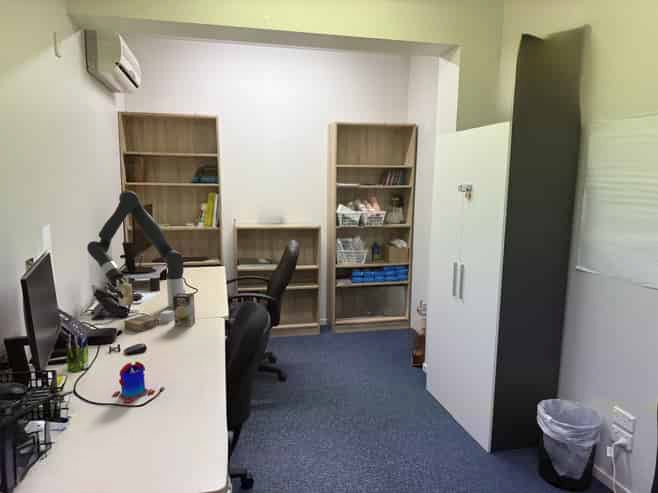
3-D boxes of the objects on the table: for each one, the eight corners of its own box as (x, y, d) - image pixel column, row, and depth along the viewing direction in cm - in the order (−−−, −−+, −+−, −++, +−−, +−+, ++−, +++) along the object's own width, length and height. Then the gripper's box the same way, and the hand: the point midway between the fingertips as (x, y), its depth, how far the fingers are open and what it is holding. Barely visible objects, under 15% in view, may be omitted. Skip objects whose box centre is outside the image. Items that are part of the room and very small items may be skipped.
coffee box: (174, 326, 230) (172, 296, 228) (179, 322, 237) (177, 293, 234) (191, 326, 229) (189, 296, 227) (196, 322, 236) (194, 293, 233)
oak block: (127, 302, 237) (125, 282, 235) (133, 304, 235) (131, 284, 233) (119, 305, 233) (117, 285, 231) (124, 306, 231) (122, 286, 229)
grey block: (166, 319, 242) (165, 310, 241) (174, 319, 241) (173, 310, 240) (160, 322, 237) (160, 313, 237) (169, 322, 236) (168, 313, 235)
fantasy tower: (141, 383, 167) (138, 353, 166) (157, 392, 160) (155, 361, 158) (109, 395, 158) (106, 363, 157) (125, 405, 151) (122, 372, 149)
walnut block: (143, 322, 237) (143, 315, 236) (156, 326, 231) (156, 318, 230) (124, 328, 228) (124, 320, 227) (137, 332, 222) (137, 324, 221)
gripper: (101, 270, 229) (117, 295, 224) (126, 264, 241) (142, 289, 236) (96, 278, 232) (112, 304, 228) (122, 273, 244) (137, 297, 240)
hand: (127, 296), depth 232 cm, fingers closed on oak block, 5 cm apart
